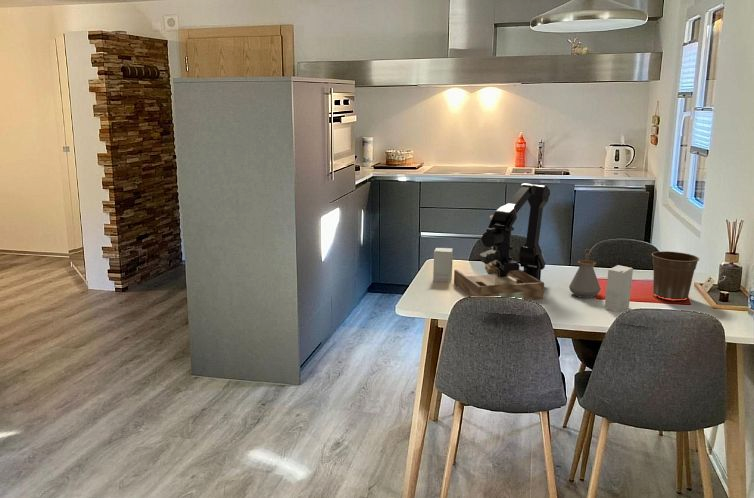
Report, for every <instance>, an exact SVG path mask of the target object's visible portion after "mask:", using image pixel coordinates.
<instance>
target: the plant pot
mask: <svg viewBox="0 0 754 498" xmlns="http://www.w3.org/2000/svg"><path fill="white" fill-rule="evenodd" d="M651 256H652V265H653V280H652V281H653V285H652V286H653V287H652V294H653V293H654V294H656V295H658V296H660V297H664V298H671V299H685V298H689V294H690V290H691V285H692V281H693V278H694V277H693V276H694V273H695V270H696V269H697V265H698V262H699V261H700V258H699V257H698V256H696V255H694V254H690V253H685V252H678V251H669V250H668V251H667V250H666V251H664V250H663V251H653V252H652V253H651Z"/></svg>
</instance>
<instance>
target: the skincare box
mask: <svg viewBox="0 0 754 498" xmlns="http://www.w3.org/2000/svg"><path fill="white" fill-rule="evenodd" d="M633 272H634V268H632V267H630V266H629V267H628V266H623V265H619V264H617V265H615V266H614V267H611V268H609V269H608V271H607V281H606V282H607V283H606V290H605V301H604V309H606V310H608V309H609V311H613V312H618V313H621V312H622V311H624V310H626V309H628V308H629V307H630V303H631V302H630V300H631V292H632V291H631V290H632V284H633V283H632V282H633Z"/></svg>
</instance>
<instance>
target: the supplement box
mask: <svg viewBox="0 0 754 498" xmlns="http://www.w3.org/2000/svg"><path fill="white" fill-rule="evenodd" d="M453 252H454V248H451V247H450V248H449V247H435V248H434V251H433V268H432V269H433V271H432V272H433V273H432V275H433V276H432V281H433V282H443V283H445V282H447V283H451V281H452V278H453V256H454V255H453Z"/></svg>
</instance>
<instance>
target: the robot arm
mask: <svg viewBox="0 0 754 498" xmlns="http://www.w3.org/2000/svg"><path fill="white" fill-rule="evenodd" d="M550 196H551V190H550V189H549V186H547V185H542V184H533V183H525V182H524V183H521V185H520V187H519V189H518V190H517V192H516V193H515V194H514V195H513V197H511V199H510V200H509V201H508V202H507V203H506V204H504V205H502V206H500V207H499V208H498V209H496V210H495V212H494V213H493V214H492V215H493V217H492V219H490V223H489V224H488V227H487V228H486V232H484V233H482V236H481V242H482V245H483V246H485V247H486V248H491V249H489V250H486V251H483V252H481V253H480V254H479V257H480V260H481V263H483V264H484V265H485V264H489V263H490V262H492V261H493V264H492V265H493V266H494V267H495V268H496V271H497V275H498V277H506V276H507V274H508V273H509V271H514V270H519V269H521V268H520V267H522V268H523V270H522V271H524V272H526V273H527V274H529V275H531V276H533V277H535V278H536V279H538V280H540V281H541V276H542V275H541V274H542V270H544V269H545V267H546V262H545V260H544V258H543V256H542V253H543V252H542V249H541V246H540V244H539V243H540V233H541V226H542V218H543V211H544V207H545V206H546V205H547V204H548V202H549V197H550ZM526 202H527V203H528V204H529V207H530V208H529V214H528V223H527V233H526V240H525V243H524V244H523V246H520V248H519V254H518V261H519V262H517V261H515V260H513V257H512V256H511V251H512V250H513V246H512V243H511V242H512V231H514V230H515V227H513V225H514V223H515V222H516V221H517V218H518V217H517V215H518V213H519V211H520V210H521V209H522V208H523V206H524V205H525V204H526ZM501 225H503V226H501Z"/></svg>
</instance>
